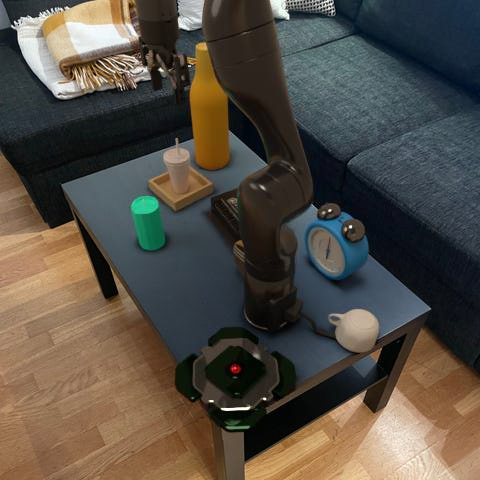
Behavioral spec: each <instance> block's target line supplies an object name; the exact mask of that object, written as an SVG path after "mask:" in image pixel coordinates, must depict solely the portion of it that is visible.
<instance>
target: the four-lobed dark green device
mask: <svg viewBox="0 0 480 480" xmlns="http://www.w3.org/2000/svg"><path fill="white" fill-rule="evenodd" d="M200 352H201V355H197V354H196V353H190V354H189V355H188V356H187V357H186V358H184V359H183V360H182V361H181V362H180V363H178V364H177V365H176V366H175V370H174V387H175V390H176V391H177V393H179V394H180V395H181V396H183V397H184V398H186V400H188V401H189V402H190V403H192V404H193V403H196V402H197V401H198V400H199V399H200V403H201V407H202V408H203V409H204V410H207V411H208V410H209V419H210V420H211V421H213V423H215V424H216V425H218V427H219V428H221V429H222V430H223V431H224V432H227V433H229V434H235V433H250V432H251V431H253V430H254V429H255V428H256V427H257V426H258V425H259V424H260V423H261V422H262V421H263V420H264V419H265V418H266V417H267V413H268V411H267V410H268V409H267V408H270V406H271V405H272V404H273V403H274V397H275V398H276V399H277V400H283V399H284V398H285V397H286V396H287V395H288V394H289V393H290V392H291V391H292V390H293V389H294V388H295V387H296V383H297V373H296V367H295V366H296V365H295V364H294V362H293V361H292V360H290V358H288V357H286V356H285V355H284V354H282V353H280V352H279V351H277V350H273V351H272V352H271V353H269V352H268V348H267V346H266V345H265V344H262V343H260V339H259V336H257V335H256V334H255V333H253V332H252V331H250V330H249V329H247V328H245V327H244V326H224V327H221V328H219V330H217V331H216V332H215V333H214V334H212V335H211V336H210V337H209V338H208V339H207V345H205V346H203V347H202V348H201V349H200Z"/></svg>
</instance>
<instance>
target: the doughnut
mask: <svg viewBox="0 0 480 480" xmlns="http://www.w3.org/2000/svg"><path fill="white" fill-rule="evenodd" d="M232 252H233V253H232V255H233V259H234V262H235V265H236V268H237V270H238V271H239V273H240V275H241V276H242V278H244V246H243V244H242V241H241V240H240V241H238V242H236V243H235V245H234V248H233V249H232Z"/></svg>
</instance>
